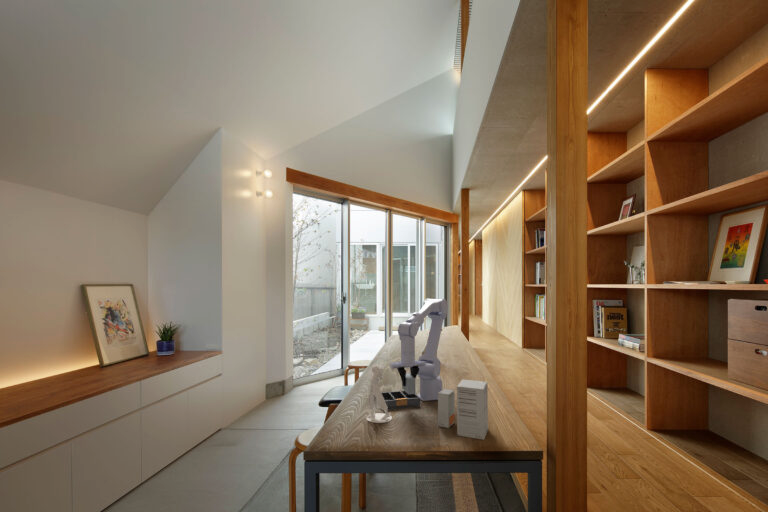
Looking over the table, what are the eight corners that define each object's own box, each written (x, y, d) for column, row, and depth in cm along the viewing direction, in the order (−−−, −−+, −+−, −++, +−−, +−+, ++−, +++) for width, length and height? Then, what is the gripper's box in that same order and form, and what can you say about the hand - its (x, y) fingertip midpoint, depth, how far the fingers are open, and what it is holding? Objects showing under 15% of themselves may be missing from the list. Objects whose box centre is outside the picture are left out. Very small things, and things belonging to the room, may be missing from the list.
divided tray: (411, 398, 175) (411, 389, 175) (420, 406, 164) (420, 397, 164) (376, 401, 171) (376, 392, 171) (383, 410, 160) (382, 400, 160)
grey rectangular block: (408, 387, 166) (408, 373, 166) (415, 393, 158) (415, 378, 159) (402, 388, 165) (402, 373, 165) (408, 394, 158) (408, 379, 158)
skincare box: (448, 428, 141) (448, 394, 142) (437, 426, 144) (437, 392, 144) (455, 422, 147) (454, 390, 147) (444, 420, 149) (444, 388, 149)
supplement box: (462, 425, 144) (461, 378, 145) (488, 429, 141) (487, 381, 141) (456, 435, 135) (456, 385, 136) (484, 440, 132) (483, 388, 132)
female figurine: (352, 412, 158) (352, 361, 159) (392, 412, 157) (392, 361, 158) (348, 422, 148) (348, 368, 148) (391, 423, 147) (391, 368, 147)
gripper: (393, 354, 157) (393, 389, 157) (428, 352, 161) (428, 386, 160) (388, 351, 164) (389, 384, 163) (421, 349, 168) (422, 381, 167)
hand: (408, 385), depth 162 cm, fingers closed on grey rectangular block, 3 cm apart
